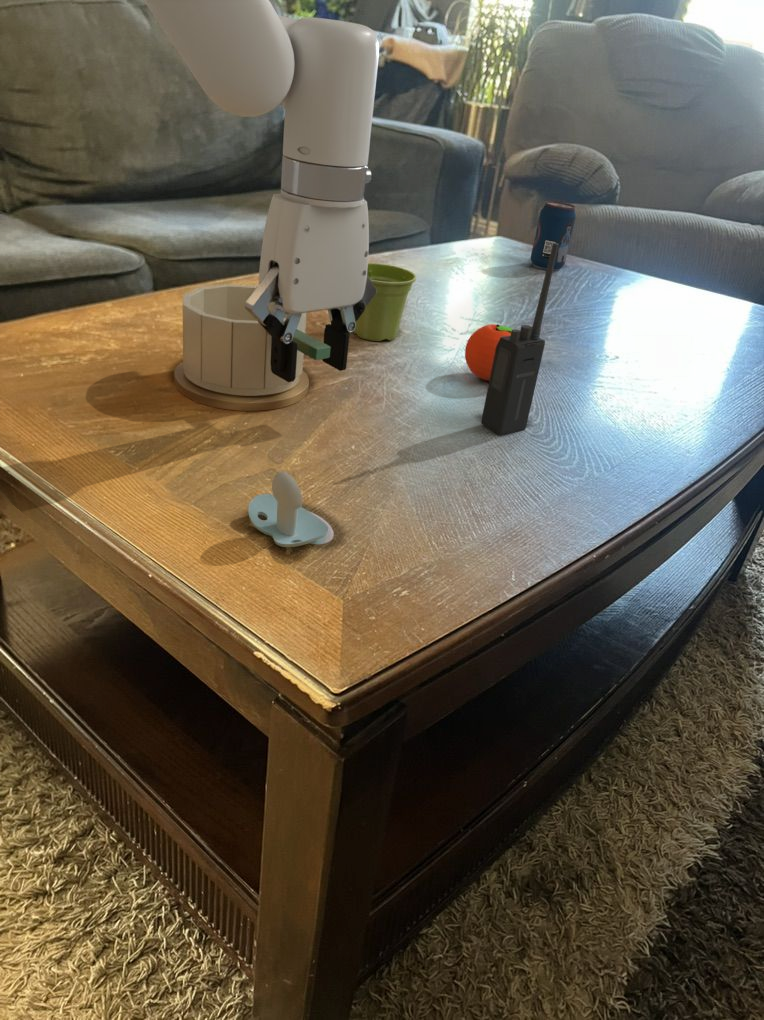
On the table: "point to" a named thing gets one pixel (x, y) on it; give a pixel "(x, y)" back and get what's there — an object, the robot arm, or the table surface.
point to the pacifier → (288, 515)
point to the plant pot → (385, 302)
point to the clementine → (484, 349)
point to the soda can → (553, 234)
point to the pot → (235, 343)
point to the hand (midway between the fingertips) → (309, 369)
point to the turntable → (236, 400)
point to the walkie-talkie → (516, 370)
